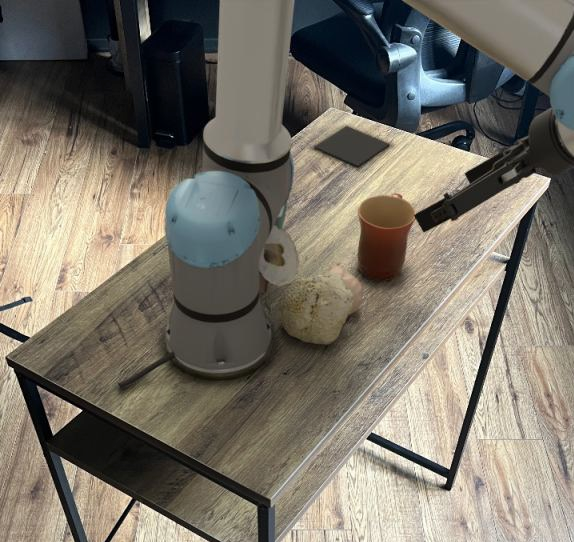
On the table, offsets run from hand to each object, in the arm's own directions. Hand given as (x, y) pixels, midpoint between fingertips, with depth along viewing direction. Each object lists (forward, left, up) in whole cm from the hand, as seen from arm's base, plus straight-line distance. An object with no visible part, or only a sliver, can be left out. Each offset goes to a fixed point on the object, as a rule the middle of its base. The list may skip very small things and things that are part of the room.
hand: (445, 201), depth 116 cm
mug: (0, +9, -15) cm, 17 cm away
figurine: (-18, +14, -5) cm, 23 cm away
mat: (+25, +33, -14) cm, 44 cm away
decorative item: (-21, +3, -14) cm, 26 cm away
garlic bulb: (-17, +6, -11) cm, 21 cm away
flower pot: (-10, +26, -15) cm, 32 cm away
